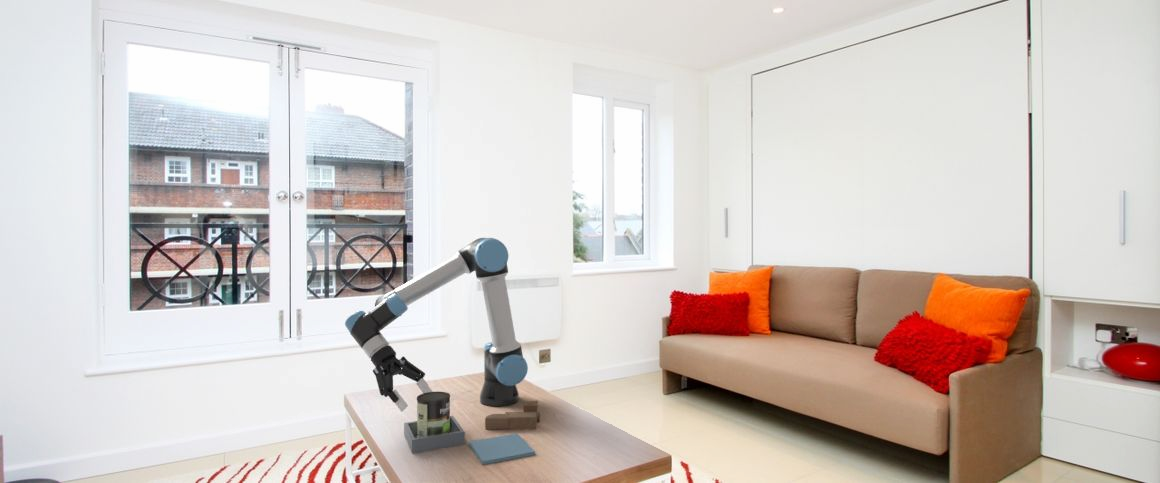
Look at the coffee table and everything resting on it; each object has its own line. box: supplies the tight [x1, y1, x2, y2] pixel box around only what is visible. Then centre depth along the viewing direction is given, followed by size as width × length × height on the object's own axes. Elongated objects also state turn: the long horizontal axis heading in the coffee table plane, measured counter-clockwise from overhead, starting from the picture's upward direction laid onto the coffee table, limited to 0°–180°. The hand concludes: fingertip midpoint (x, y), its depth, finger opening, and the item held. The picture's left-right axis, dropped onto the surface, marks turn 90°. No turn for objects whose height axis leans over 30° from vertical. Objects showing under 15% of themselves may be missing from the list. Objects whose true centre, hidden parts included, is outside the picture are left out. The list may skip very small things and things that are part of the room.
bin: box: [403, 415, 466, 454], centre depth 174 cm, size 16×16×4 cm
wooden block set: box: [484, 400, 541, 431], centre depth 191 cm, size 17×6×18 cm
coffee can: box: [416, 391, 451, 438], centre depth 174 cm, size 10×10×14 cm
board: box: [468, 432, 536, 466], centre depth 166 cm, size 16×16×1 cm
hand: (418, 402), depth 174 cm, fingers open, 13 cm apart
